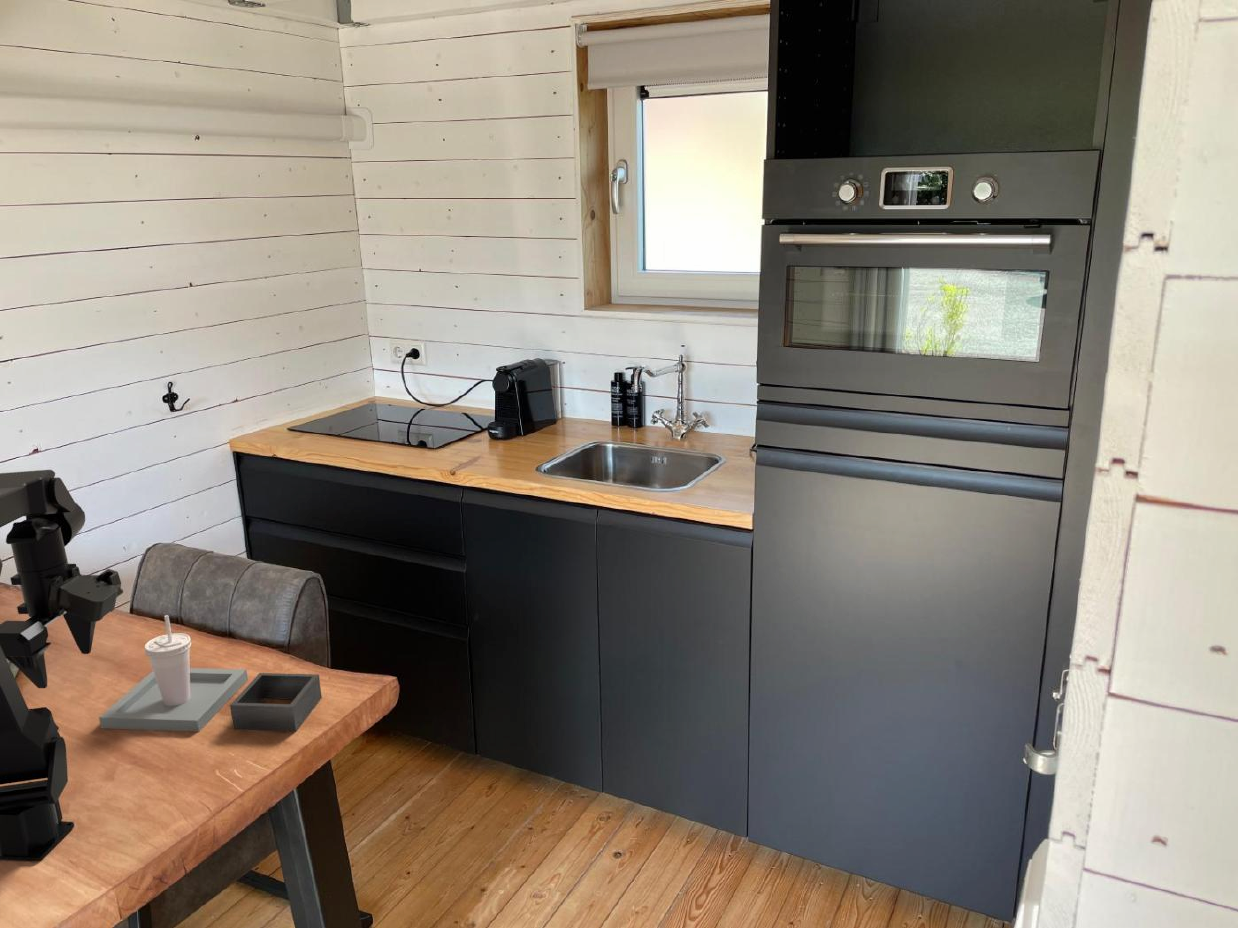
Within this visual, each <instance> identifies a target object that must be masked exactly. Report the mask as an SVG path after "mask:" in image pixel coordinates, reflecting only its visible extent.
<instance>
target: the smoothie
mask: <svg viewBox="0 0 1238 928" xmlns="http://www.w3.org/2000/svg"><path fill="white" fill-rule="evenodd" d="M163 618H164V623H165V628H166V629H165V630H166V633H165V634H163V635H158V636H155V637H154V638H152V639H150V640H148V641H147V642H146V643H145V644H144V654H145V656H146V657H148V660H149V663H150V666H151V669H152V671H153V672H154V675H155V678H156V681H157V684H158V687H159V690H160V693H161V696H162V699H163V702H164V704H165V705H167V706H176V705H180V704H183V703H185V702H186V701H188V700H189V699H190V668H191V666H190V665H191V664H190V663H191V662H190V657H191V656H190V654H191V653H190V652H191V651H190V648H191V646H192V641H191V636H190V635H189V634H186V633H181V632H180V633H179V632H175V633H174V632H173V633H172V630H171V622H170V617H169V615H168V614H165V615H164V617H163Z"/></svg>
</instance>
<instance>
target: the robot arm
mask: <svg viewBox="0 0 1238 928" xmlns="http://www.w3.org/2000/svg"><path fill="white" fill-rule="evenodd" d="M22 517H25V519H24V520H22V521H16V520H18V519H20V518H22ZM14 521H16V522H14ZM12 522H13V524H12V527H11V529H10V531H9V532H8V533H7V534H6V538H5V543H6V544H7V545H10V546H11V551H12V556H13V559H14V565H15V569H16V572H17V573H16V574H15V575H13V576H11V577H10V583H11V586H20V590H21V594H22V598H23V602H22V603H21V604H20V605H18V606H16V609H17V613H18V615H28V617H29V618H28V619H26V620H5V621H3V622H2V623H0V860H9V861H10V860H11V861H13V860H15V861H32V862H33V861H34V862H38V861H41V860H42V859H44V858H45V857H47V855H48V854H49V853H50V852H51V851H52V850H53V849H54V848H55V846H56V845H58V843H59V844H60V842H61V841H62V839H63V838H64V837H66V836H67V835H68V833H70V832H71V830H72V829H74V828H75V822H74V821H65V820H64V821H63V814H62V809H61V804H60V800H59V799H60V797H61V795H62V794H63V791H64V789H65V788H66V786H67V784H68V781H69V777H68V775H69V773H68V758H67V746H66V745H67V744H66V741H65V738H64V737H63V736H61V735H60V732H59V731H60V730H59V729H60V727H59V725H57V723H56V721H55V719H54V716H53V713H52V711H51V709H49V708H47V706H44V707H37V708H36V707H35V708H29V707H28V705H27V702H26V701H25V698H24V695H23V693H22V692H21V690H20V687H19V685H18V682H17V680H16V678H15V676H14V673H13V671H12V669H11V666H10V665H9V662H10V663H11V664H13V665H14V666H15V667H16V668H17V669H18V670H19V671H20V672H21V673H22V674H23V675H24V676H25V677H26V678H27V679H28V680H29V681H30V682H31V683H33V685H35V686H36V688H38V689H47V688H48V674H47V668H46V667H47V666H46V661H45V660H46V659H45V652H46V651H47V649H48V648H49V647H50V646H51V645H52V642H51V641H50V642H48V638H49V633H48V626H49V625H51V624H52V623H53V622H54V623H55V621H56V620H58V619H59V618H61V617H62V616H63V618H64V620H65V623H66V625H67V627H68V629H69V632H70V633H71V636H72V637H73V641H74V642H75V644H76V646H77V648H78V649H79V651H80V652H81V654H82V655H89V654H91V652H92V647H93V646H92V645H93V641H94V634H95V628H96V623H97V622H100V621H101V620H102V619H103V618H104V617H105V616H106V615H108V614H109V613H111V612H113V611H114V610H115V607H116V603H117V602H116V601H117V598H119V596H121V595H122V594H124V590H123V588H121V587H122V581H121V578H120V574H119V571H116V570H114V569H111V568H107V569H106V570H105V571H103V572H101V573H100V574H92V575H91V574H81V572H80V568H79V566H77V563H69V562H68V557H67V552H66V548H65V547H66V546H67V545H69V543H70V542H71V541H72V540H73V539H74V538H75V537H76V536H77V534H78V533H79V532H80V531H81V530H82V529H83V527H84V526H85V522H86V513H85V511H84V510H83V509H82V507H81V506H80V505H79V503H77V502H76V501H75V500H74V498H73V497H72V494H71V493H70V491H69V490H68V488H67V486H66V484H65V483H64V481H63V480H62V478H61V477H59V476H58V477H56V472H55V471H54V470H52V469H39V470H38V469H37V470H28V471H13V472H1V473H0V528H3V527H4V526H7V525H8V524H10V523H12ZM2 569H3V561H2V559H1V558H0V576H1V574H2ZM8 661H9V662H8ZM36 780H37V781H36ZM14 783H15V784H14ZM63 840H64V839H63Z"/></svg>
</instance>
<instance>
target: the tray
mask: <svg viewBox="0 0 1238 928" xmlns="http://www.w3.org/2000/svg"><path fill="white" fill-rule="evenodd" d="M247 681H248V672H247V669H241V668H240V669H238V668H237V669H236V668H204V667H203V668H202V667H196V668H195V667H190V699H189V700H188V701H186V702H185V703H183V704H180V705H176V706H167V705H165V704H164V702H163V699H162V696H161V693H160V690H159V687H158V684H157V681H156V678H155V675H154V672H153V670H152V671H151V672H150V673H148V674H147V675H146V676H145V677H144V678H142V679H141V681H139V682H138V683H137V684H136V685H135V686H133V687H132V688H131V689H130V690H129V691H128V692H127V693H125V694H124V695H123V696H122V697H120V699H118V700H117V701H116V702H115V703H114V704H112V705H111V706H110V707H109V708H108V709H107V710H105V711H104V712H103V713H102V714H101V715H100V716H99V717H98V718H99V720H98V721H99V725H100V728H101V729H107V730H108V729H113V730H141V731H144V730H145V731H174V732H200V731H201V730H202V729H203V728H204V727H205V726H206V725H207V724H208V723H209V722H210V720H212V719H213V718H214V717H215V715H216V714H217V713H218V712H219V711H220V710H221V709H222V708H223V707H224V706H225V705H226V704H227V703H228V702H229V701H230V699H231V698H232V697H233V696H234V695H235V694H236V693H237V692H238V691H239V690H240V689H241V688H242V687H243V685H245V684H246V682H247Z"/></svg>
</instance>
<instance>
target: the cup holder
mask: <svg viewBox="0 0 1238 928" xmlns="http://www.w3.org/2000/svg"><path fill="white" fill-rule="evenodd" d="M320 681H321V680H320V674H318V673H317V674H311V673H308V674H307V673H277V672H275V673H274V672H259V673H258V674H257V675H256V676H255V678H253V679H252V681H251V682H249V683H248V685H247V686H246V687H245V688H244V689H243V691H242V692H240V693H239V694H238V695H237V697H236V698H235V699H234V700H232V702H231V704H229V708H230V713H231V721H232V722H231V723H232V727H233V730H234V731H236V730H239V731H259V732H260V731H264V732H265V731H266V732H291V733H292V732H294V733H296V732H297V731H298V730H299V728H301V726H302V725H303V723H304V722H305V720H306V719H307V718H308V717H309V716H310V714H311V713H312V712H313V710H314V708H315V707H316V706H317V705H318V703H320V701H321V699H322V690H321V682H320ZM266 699H269V700H270V699H271V700H292V702H291V703H290V704H289V703H288V704H287V703H263V702H264V701H265V700H266Z"/></svg>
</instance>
